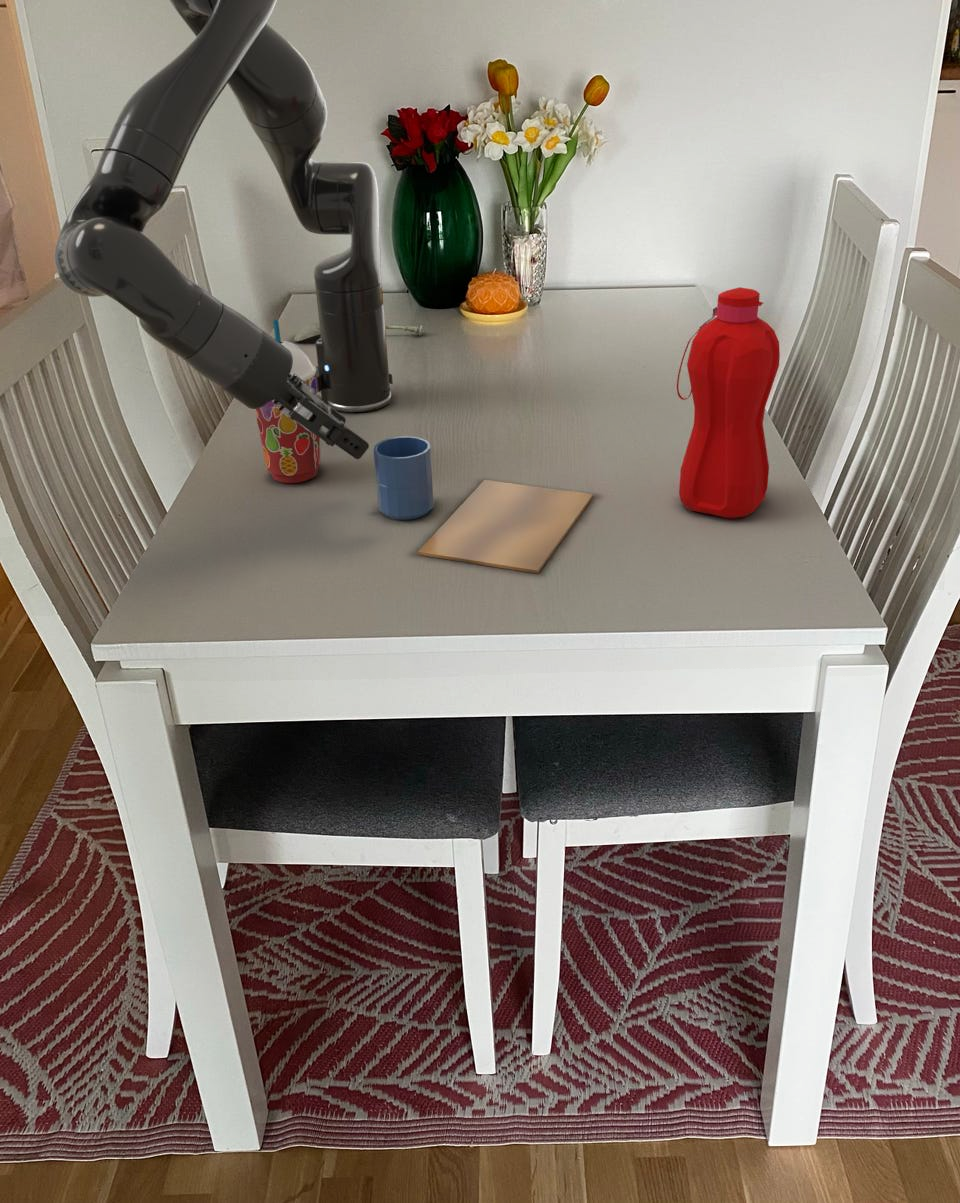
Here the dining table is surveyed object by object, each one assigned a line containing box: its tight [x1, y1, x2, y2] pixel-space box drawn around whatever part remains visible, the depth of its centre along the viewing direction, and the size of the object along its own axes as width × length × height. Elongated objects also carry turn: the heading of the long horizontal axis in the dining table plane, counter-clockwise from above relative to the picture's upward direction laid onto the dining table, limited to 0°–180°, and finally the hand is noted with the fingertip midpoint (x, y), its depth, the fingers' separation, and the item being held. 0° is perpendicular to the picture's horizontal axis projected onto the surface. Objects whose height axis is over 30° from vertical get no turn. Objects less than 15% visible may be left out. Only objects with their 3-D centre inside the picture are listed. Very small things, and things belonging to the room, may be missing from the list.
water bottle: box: [676, 286, 781, 520], centre depth 129 cm, size 9×11×25 cm
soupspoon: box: [293, 321, 423, 342], centre depth 195 cm, size 22×3×7 cm
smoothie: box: [254, 318, 322, 484], centre depth 141 cm, size 8×8×20 cm
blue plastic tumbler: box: [373, 435, 435, 521], centre depth 134 cm, size 6×6×8 cm
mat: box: [417, 479, 594, 574], centre depth 132 cm, size 14×20×1 cm
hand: (351, 438), depth 129 cm, fingers open, 8 cm apart
